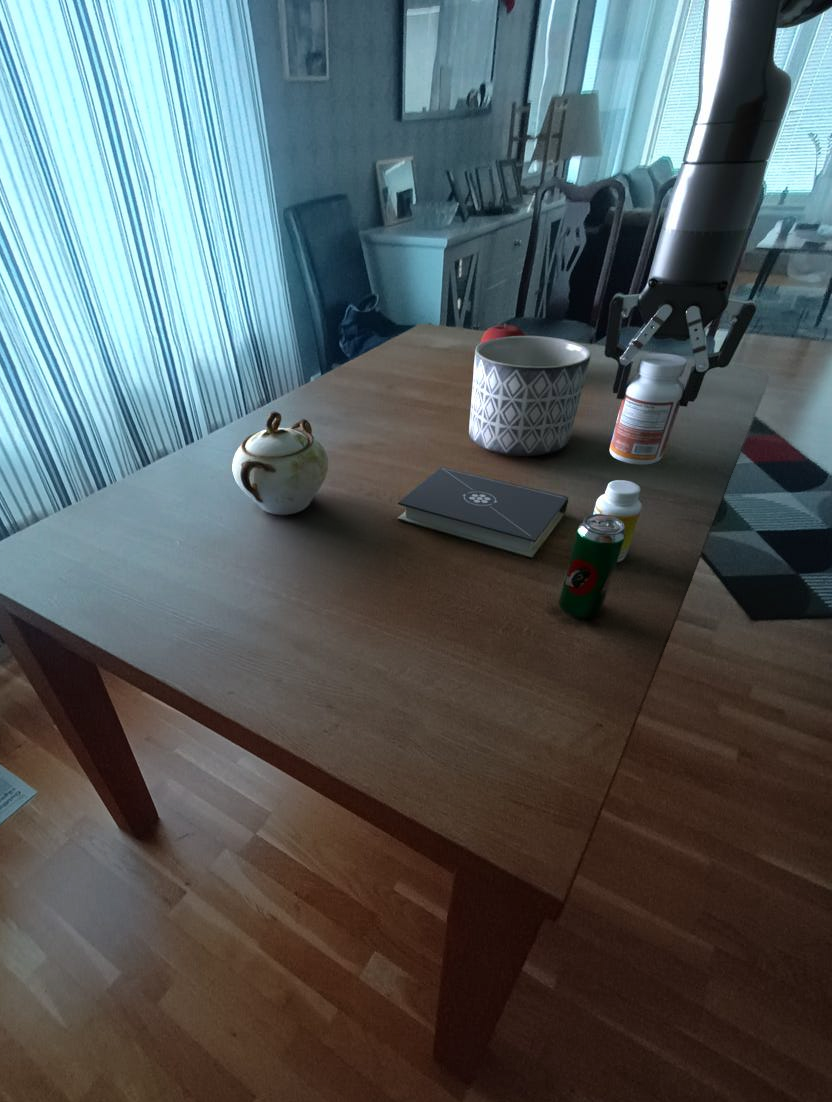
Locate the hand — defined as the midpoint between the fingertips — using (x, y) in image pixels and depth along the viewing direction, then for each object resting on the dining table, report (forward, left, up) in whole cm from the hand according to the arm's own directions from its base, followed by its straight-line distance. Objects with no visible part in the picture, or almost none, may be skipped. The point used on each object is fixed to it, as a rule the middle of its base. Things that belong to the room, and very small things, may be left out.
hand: (651, 400), depth 66 cm
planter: (+34, -19, -21) cm, 45 cm away
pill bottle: (0, 0, -7) cm, 7 cm away
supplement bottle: (0, 0, -21) cm, 21 cm away
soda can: (-6, +12, -21) cm, 25 cm away
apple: (+65, -46, -21) cm, 82 cm away
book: (+18, +6, -21) cm, 29 cm away
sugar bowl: (+41, +28, -21) cm, 54 cm away
